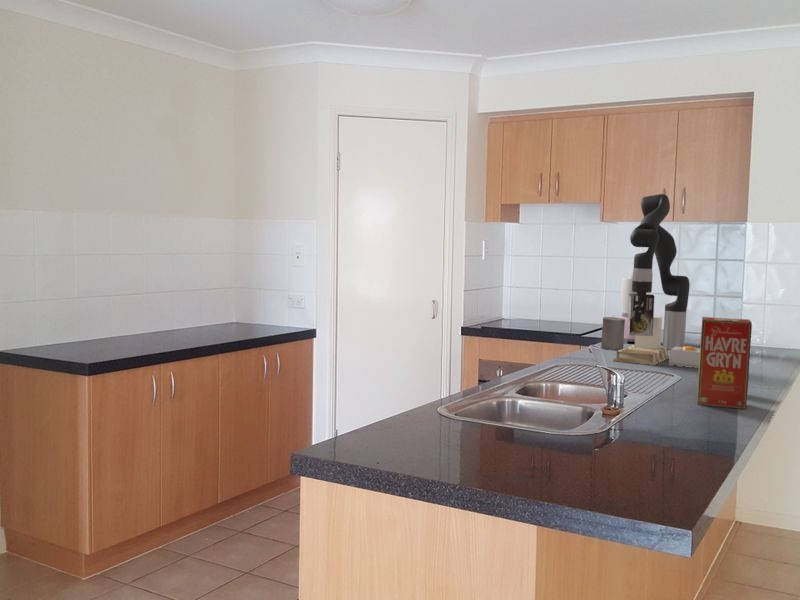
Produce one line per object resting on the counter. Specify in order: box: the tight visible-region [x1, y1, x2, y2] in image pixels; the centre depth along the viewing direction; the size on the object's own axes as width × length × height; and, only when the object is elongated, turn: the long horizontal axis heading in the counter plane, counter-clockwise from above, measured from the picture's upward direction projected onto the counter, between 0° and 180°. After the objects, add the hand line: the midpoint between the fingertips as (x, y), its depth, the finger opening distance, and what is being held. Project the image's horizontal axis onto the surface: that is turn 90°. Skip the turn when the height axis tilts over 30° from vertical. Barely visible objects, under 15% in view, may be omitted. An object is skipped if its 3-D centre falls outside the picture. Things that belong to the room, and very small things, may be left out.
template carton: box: [634, 315, 663, 350], centre depth 311 cm, size 6×9×16 cm, turn 59°
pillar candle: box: [600, 316, 625, 351], centre depth 335 cm, size 10×10×15 cm
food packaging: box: [696, 316, 753, 410], centre depth 219 cm, size 13×9×25 cm
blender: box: [620, 274, 637, 344], centre depth 361 cm, size 16×12×32 cm
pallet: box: [613, 344, 669, 366], centre depth 306 cm, size 27×16×4 cm, turn 149°
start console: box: [668, 347, 700, 369], centre depth 294 cm, size 12×12×6 cm
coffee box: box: [628, 293, 655, 336], centre depth 298 cm, size 9×6×16 cm
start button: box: [682, 345, 697, 351], centre depth 294 cm, size 5×5×5 cm
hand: (639, 321), depth 298 cm, fingers closed on coffee box, 8 cm apart
